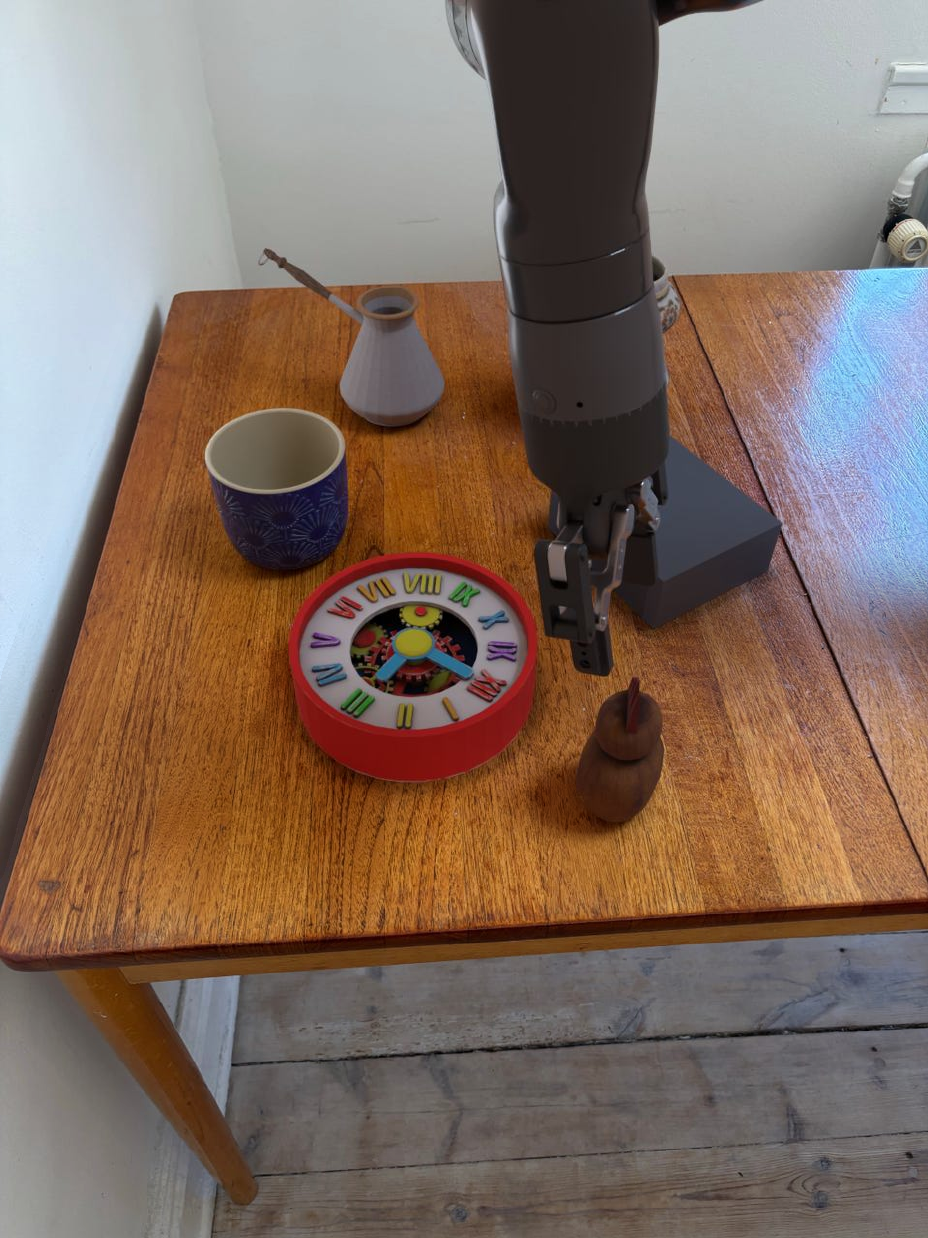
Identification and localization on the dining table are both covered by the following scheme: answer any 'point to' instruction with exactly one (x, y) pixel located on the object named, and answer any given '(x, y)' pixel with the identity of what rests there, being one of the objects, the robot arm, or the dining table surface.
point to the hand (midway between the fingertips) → (618, 623)
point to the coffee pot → (382, 354)
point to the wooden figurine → (622, 756)
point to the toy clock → (413, 666)
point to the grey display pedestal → (697, 540)
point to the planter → (280, 486)
